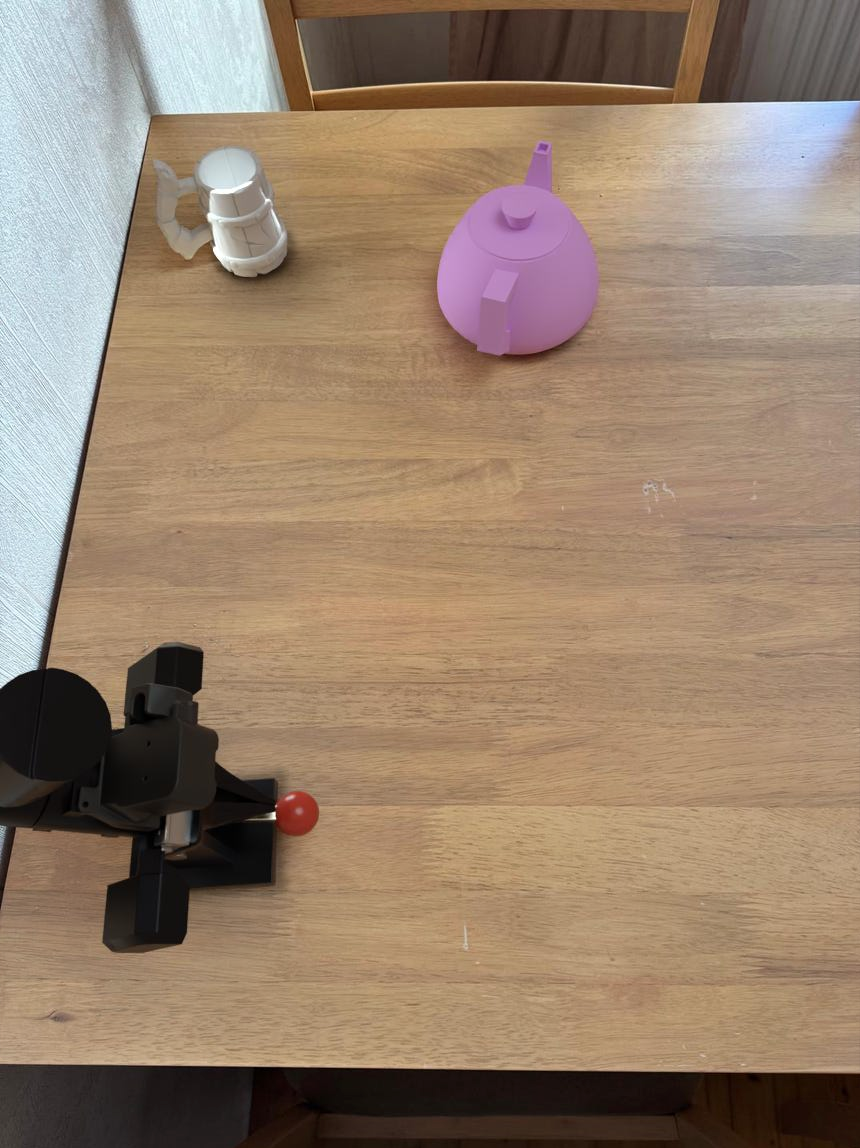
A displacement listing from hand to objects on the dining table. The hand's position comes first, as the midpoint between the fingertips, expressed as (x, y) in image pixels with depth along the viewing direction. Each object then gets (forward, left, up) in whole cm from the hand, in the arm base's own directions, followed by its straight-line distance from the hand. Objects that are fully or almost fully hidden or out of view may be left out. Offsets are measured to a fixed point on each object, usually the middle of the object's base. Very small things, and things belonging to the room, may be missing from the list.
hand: (273, 807), depth 63 cm
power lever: (-3, +1, -3) cm, 4 cm away
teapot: (+41, +37, -8) cm, 56 cm away
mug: (+19, +57, -8) cm, 61 cm away
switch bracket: (-6, +3, -8) cm, 11 cm away
